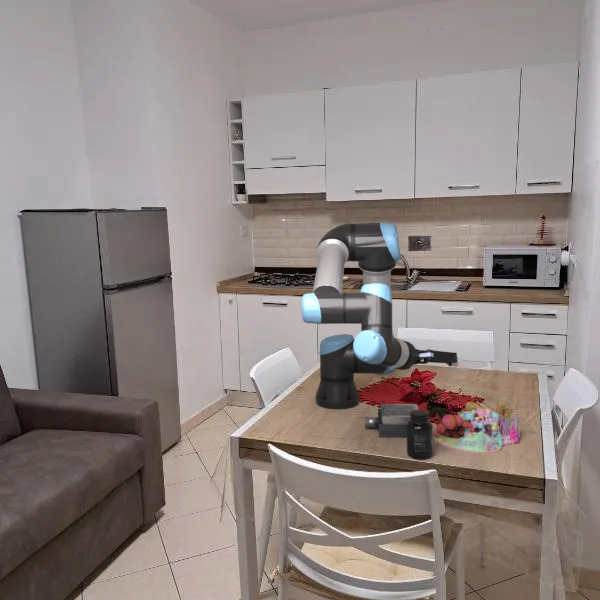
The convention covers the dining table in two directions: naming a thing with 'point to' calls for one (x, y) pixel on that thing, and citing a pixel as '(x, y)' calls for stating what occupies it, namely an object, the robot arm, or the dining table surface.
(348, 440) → the dining table surface
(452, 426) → the candy landscape model
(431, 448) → the supplement bottle
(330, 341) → the robot arm
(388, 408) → the block
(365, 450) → the dining table surface
